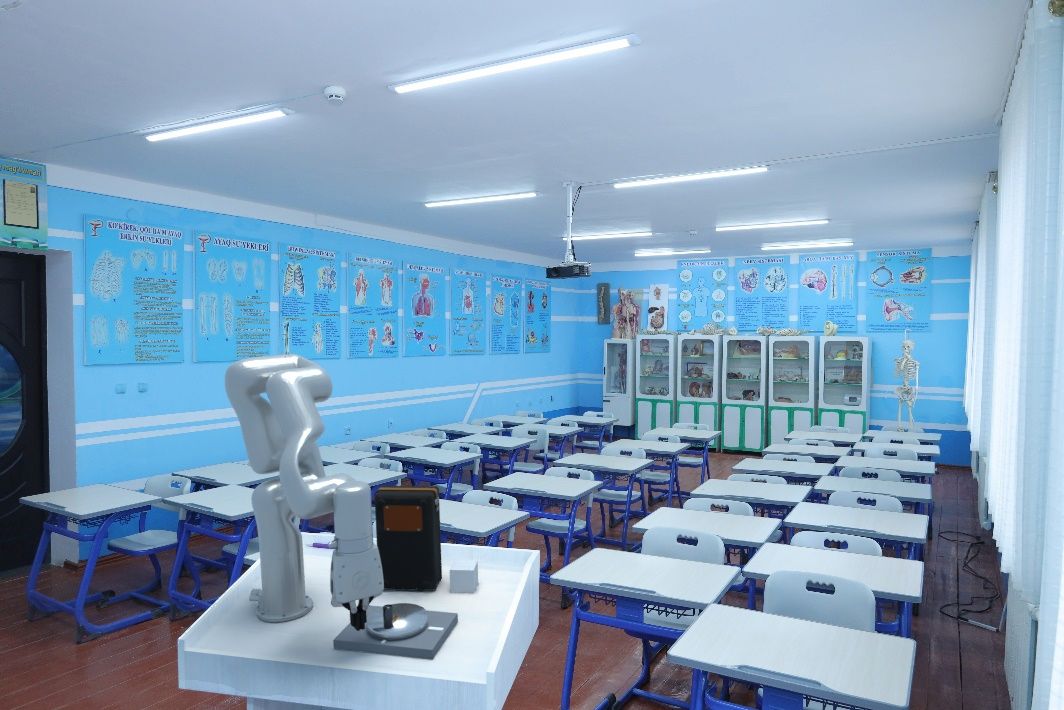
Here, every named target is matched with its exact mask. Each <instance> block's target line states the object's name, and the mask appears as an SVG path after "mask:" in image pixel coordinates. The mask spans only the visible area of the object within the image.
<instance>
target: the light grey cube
mask: <svg viewBox="0 0 1064 710" xmlns="http://www.w3.org/2000/svg"><path fill="white" fill-rule="evenodd" d="M478 563H479V562H478V560H469V559H468V560H466V559H465V560H460V559H459V560H457V559H455V560H453V562H452V564H451V566H450V569H449V589H450V592H449V593H450V594H475V593H476V591H475V590H477V588H478V585H479V564H478ZM476 587H477V588H476Z"/></svg>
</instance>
